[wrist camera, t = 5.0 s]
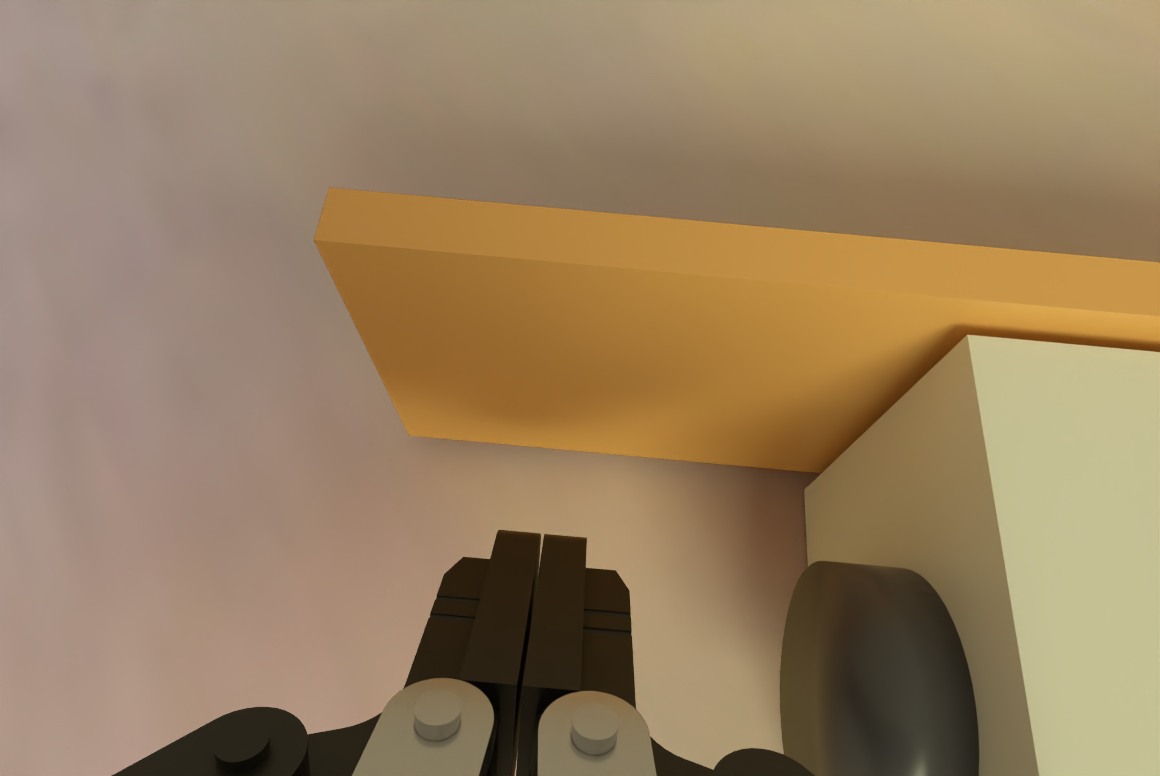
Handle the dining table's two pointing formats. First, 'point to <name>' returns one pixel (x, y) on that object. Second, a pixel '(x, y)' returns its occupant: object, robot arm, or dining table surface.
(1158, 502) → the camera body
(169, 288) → the dining table surface
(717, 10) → the dining table surface
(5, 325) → the dining table surface
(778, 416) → the side door
